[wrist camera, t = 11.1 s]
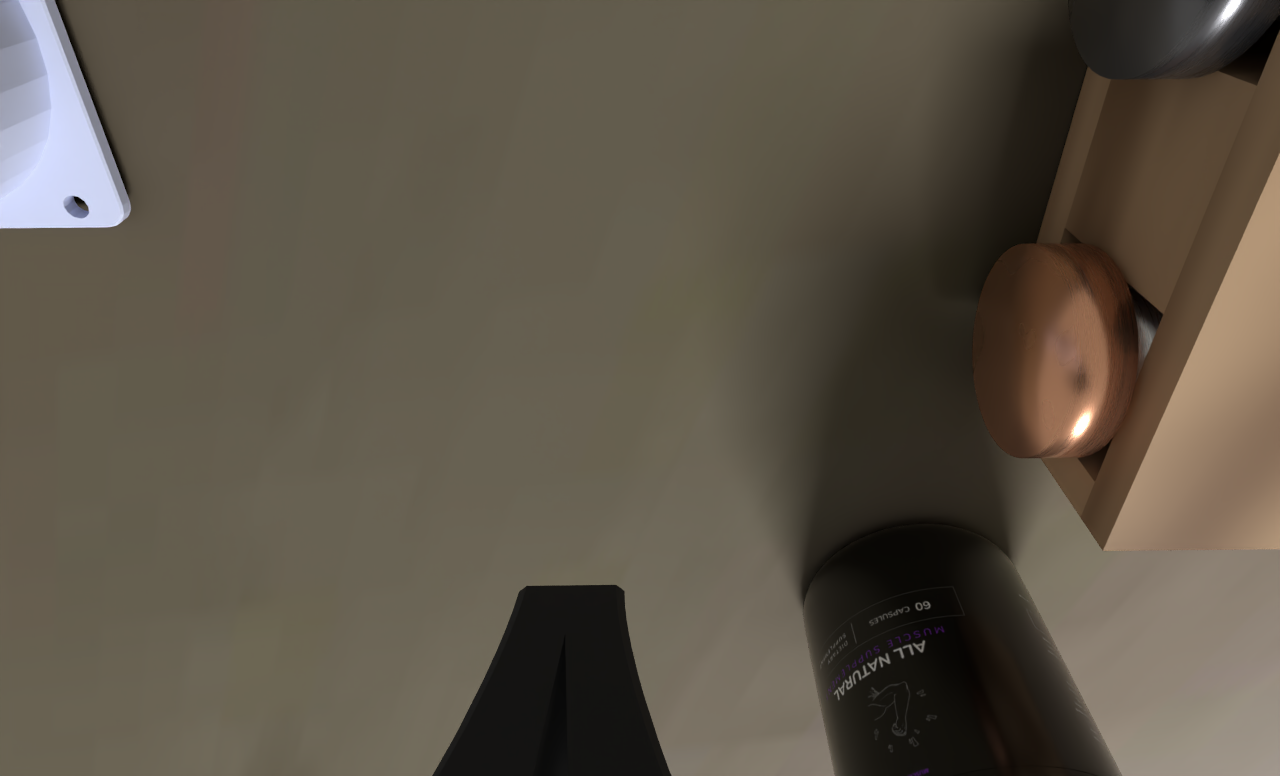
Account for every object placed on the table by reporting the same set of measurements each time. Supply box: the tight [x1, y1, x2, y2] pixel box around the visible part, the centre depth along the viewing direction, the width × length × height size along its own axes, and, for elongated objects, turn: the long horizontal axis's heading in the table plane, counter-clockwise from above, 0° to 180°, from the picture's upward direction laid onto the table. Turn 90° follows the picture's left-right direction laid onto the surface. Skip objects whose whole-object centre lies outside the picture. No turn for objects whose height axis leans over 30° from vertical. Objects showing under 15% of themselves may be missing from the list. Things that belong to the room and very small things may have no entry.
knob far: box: [972, 243, 1163, 458], centre depth 17 cm, size 7×5×5 cm
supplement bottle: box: [803, 524, 1122, 776], centre depth 21 cm, size 7×7×12 cm
